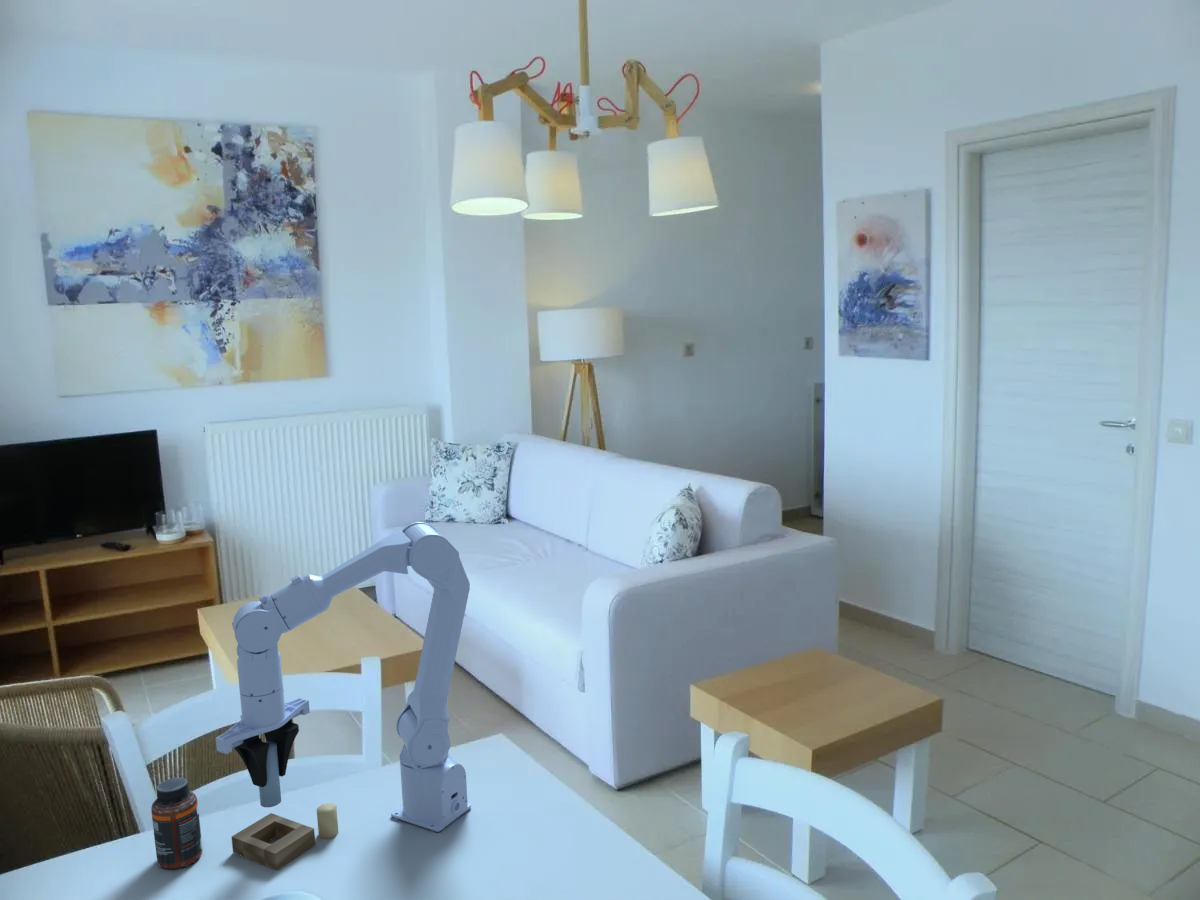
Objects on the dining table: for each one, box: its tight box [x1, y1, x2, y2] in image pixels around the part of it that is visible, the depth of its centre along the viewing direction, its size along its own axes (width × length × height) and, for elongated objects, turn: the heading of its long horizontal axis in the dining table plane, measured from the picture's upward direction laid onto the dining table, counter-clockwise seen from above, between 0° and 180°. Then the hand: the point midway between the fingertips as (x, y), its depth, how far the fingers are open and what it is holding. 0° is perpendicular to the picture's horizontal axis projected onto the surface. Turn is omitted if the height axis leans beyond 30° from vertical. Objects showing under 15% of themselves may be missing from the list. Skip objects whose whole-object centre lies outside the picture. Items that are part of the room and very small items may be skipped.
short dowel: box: [316, 802, 339, 840], centre depth 138 cm, size 3×3×4 cm
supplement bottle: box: [150, 777, 203, 870], centre depth 132 cm, size 6×6×11 cm
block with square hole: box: [231, 812, 316, 871], centre depth 135 cm, size 9×7×2 cm
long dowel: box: [258, 741, 282, 808], centre depth 133 cm, size 3×3×8 cm
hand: (269, 779), depth 133 cm, fingers closed on long dowel, 3 cm apart
